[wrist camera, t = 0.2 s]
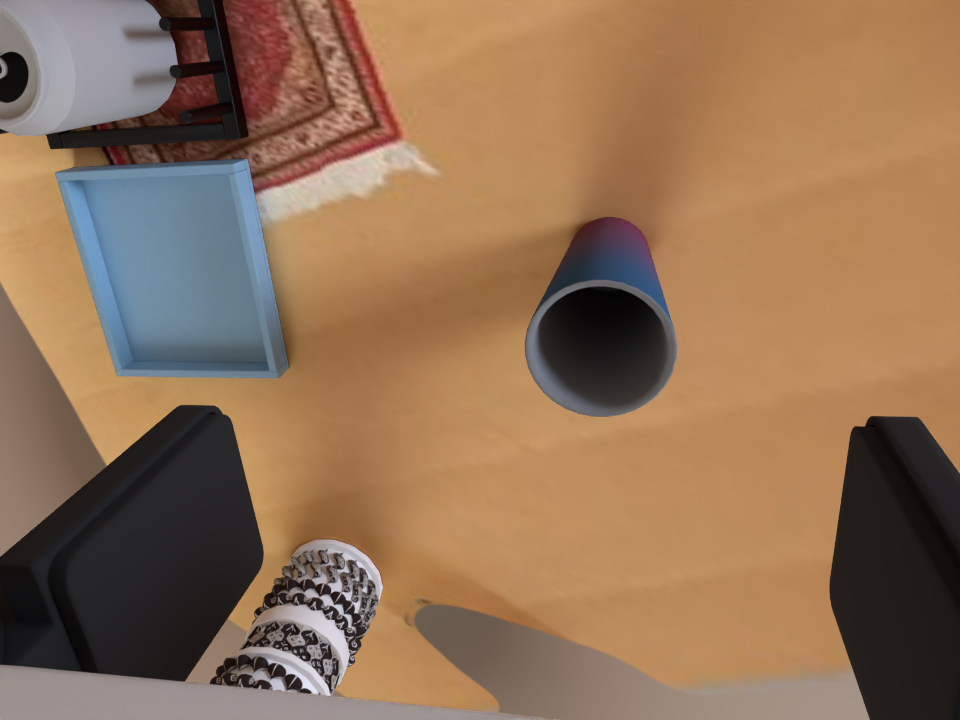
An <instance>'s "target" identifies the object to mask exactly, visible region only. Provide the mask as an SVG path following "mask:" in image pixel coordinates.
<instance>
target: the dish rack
mask: <svg viewBox="0 0 960 720" xmlns="http://www.w3.org/2000/svg"><path fill="white" fill-rule="evenodd" d="M198 5H199V10H200V15H201V17H162V18H161V19H160V20H159V26H160V28H161V29H162V30H163V31H203V30H204V34H205V39H206V44H207V48H208V53H209V58H210V61H209V62H199V63H189V64H179V65H172V66H171V67H170V70H169V72H170V75H171V76H172V77H173V78H176V79H177V78H185V77H192V76H200V75H208V74H213V77H214V82H215V87H216V92H217V96H218V101H219V104H214V105H209V106H204V107H199V108H194V109H189V110H184V111H182V112H181V113H180V119H181V120H182V121H183V122H184V123H191V122H196V121H200V120H204V119H208V118H213V117H217V116H222V120H223V122H210V123H194V124H178V125H161V126H145V127H129V128H112V129H96V130H80V131H70V130H66V131H61V132H56V133H51V134H46V136H47V139H48V143H49V146H50V149H64V148H65V149H66V148H84V147H102V146H120V145H138V144H156V143H174V142H192V141H210V140H226V139H241V138H244V137H247V136H248V130H247V125H246V120H245V115H244V110H243V105H242V100H241V95H240V89H239V84H238V79H237V74H236V69H235V64H234V59H233V54H232V49H231V44H230V38H229V33H228V28H227V23H226V18H225V13H224V8H223V3H222V0H198ZM4 133H9V132H7V131H5V130H2V129H0V134H4Z"/></svg>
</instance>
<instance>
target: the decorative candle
mask: <svg viewBox="0 0 960 720" xmlns="http://www.w3.org/2000/svg"><path fill="white" fill-rule="evenodd" d="M282 574H283V575H284V578H283V577H281V578H276V579H275V580H274V584H275V585H274V586H273V588H272V592H271V593H268V594H266V595H265V597H264V602H263V607H259V608H257V609H256V610H255V612H254V615H255V618H256V619H255V620H254V621H253V623H252V626H251V628H250V629H249V631H248V632H247V634H246V637H245V643H244V644H243V646H242V647H241V648H240V650H239V651H237V652H234V653H232V655H231V656H230V657H229V658H226V659H225V661H224V663H223V665H222V666H219V667H218V668H217V670H216V675H217V676H216V677H214V678H212V680H211V681H210V684H213V685H224V686H234V687H245V688H255V689H266V690H276V691H286V692H296V693H306V694H316V695H326V696H332V695H333V693H334V690H335V688H336V686H337V685H338V684H339V683H340V682H341V680H342V678H343V676H344V673H345V671H346V669H347V667H349V666H352V665H353V664H354V662H355V657H354V655H355V654H356V653H357V651H358V650H359V649H360V648H361V641H360V639H362V638H363V637H364V635H365V634H366V633H367V632H368V631H369V628H370V621H371V620H372V619H373V618H374V616H375V609H376V607H377V605H378V604H379V601H380V597H381V593H382V589H383V585H382V581H381V577H380V573H379V571H378V569H377V568H376V567H375V565H374V564H373V563H372V561H371V560H370V559H369V557H368V556H366V555H365V554H363V553H362V552H360V551H359V550H358V549H356V548H355V547H353V546H352V545H349V544H346V543H343V542H340V541H337V540H313V541H310V542H308V543H305V544H303V545H301V546H300V547H299V548H298V549H297V550H296V551H295V552H294V554H293V555H292V556H291V557H290V559H289V565H288V566H283V567H282Z"/></svg>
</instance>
